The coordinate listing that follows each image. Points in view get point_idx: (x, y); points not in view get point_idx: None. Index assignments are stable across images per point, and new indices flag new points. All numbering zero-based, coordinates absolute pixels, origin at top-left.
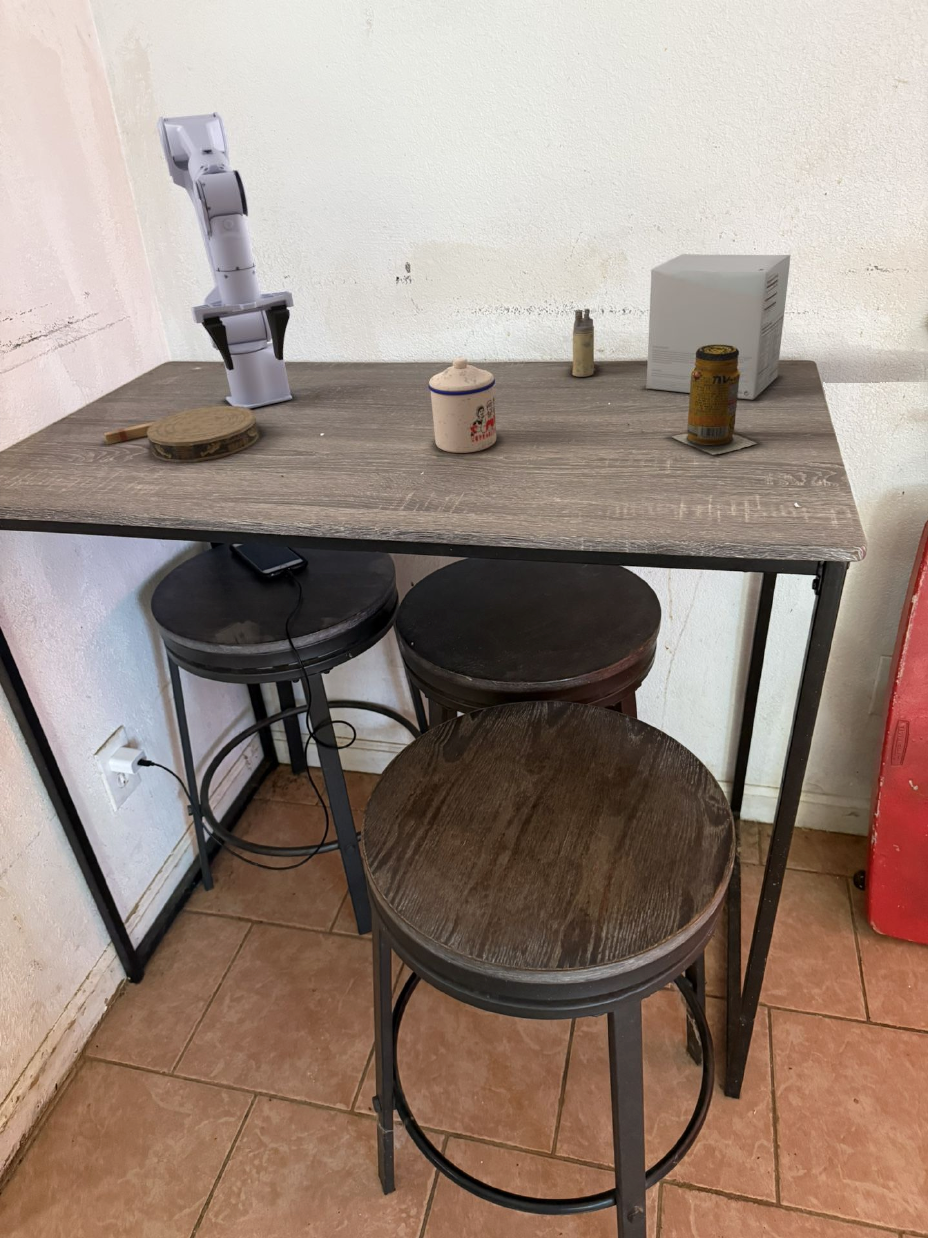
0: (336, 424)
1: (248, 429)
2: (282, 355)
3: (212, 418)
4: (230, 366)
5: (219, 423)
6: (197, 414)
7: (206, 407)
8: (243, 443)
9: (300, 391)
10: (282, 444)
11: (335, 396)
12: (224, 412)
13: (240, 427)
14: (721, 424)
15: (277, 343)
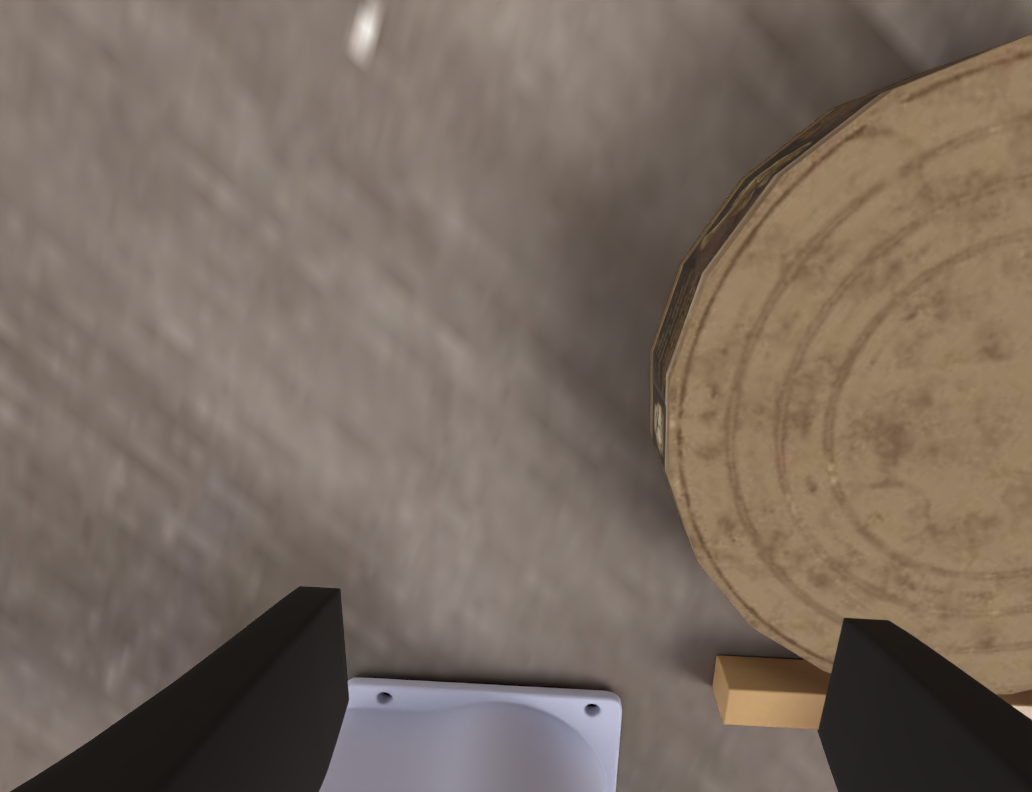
0: (246, 153)
1: (800, 153)
2: (279, 605)
3: (922, 455)
4: (901, 638)
5: (940, 323)
6: (951, 588)
7: None
8: (845, 105)
9: None
10: (622, 23)
11: (152, 586)
12: (812, 514)
13: (878, 124)
14: None
15: (241, 713)
